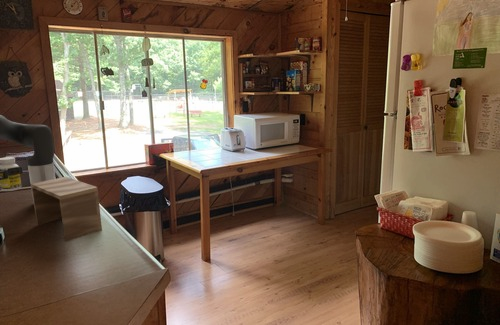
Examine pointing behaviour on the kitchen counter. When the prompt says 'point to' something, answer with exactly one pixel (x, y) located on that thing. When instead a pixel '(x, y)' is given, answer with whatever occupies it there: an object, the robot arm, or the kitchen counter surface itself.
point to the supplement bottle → (13, 180)
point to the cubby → (68, 206)
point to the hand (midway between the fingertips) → (17, 168)
